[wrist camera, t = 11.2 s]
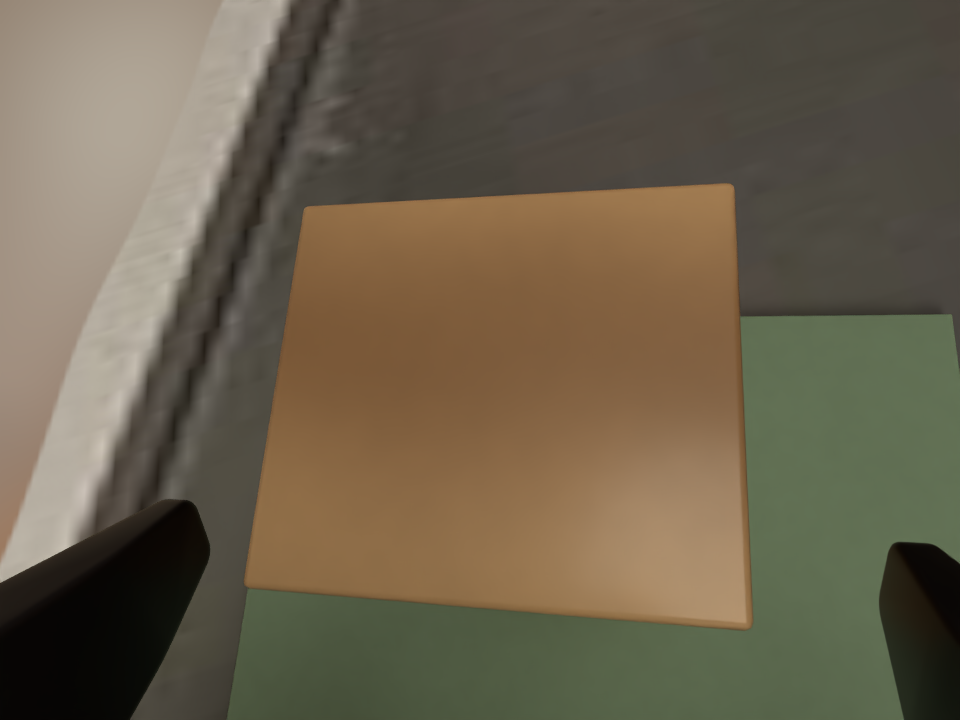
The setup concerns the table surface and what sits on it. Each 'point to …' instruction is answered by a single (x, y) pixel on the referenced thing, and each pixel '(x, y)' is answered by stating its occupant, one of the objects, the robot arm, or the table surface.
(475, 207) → the maple block
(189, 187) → the table surface
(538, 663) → the green mat
